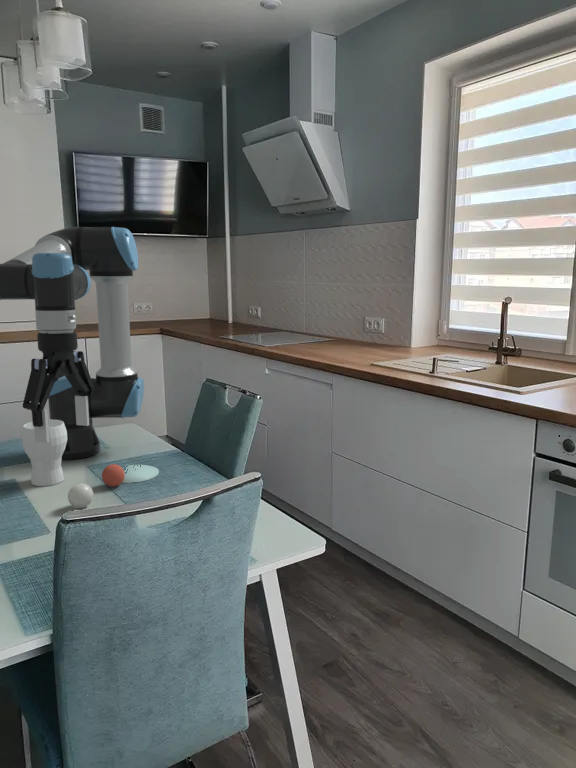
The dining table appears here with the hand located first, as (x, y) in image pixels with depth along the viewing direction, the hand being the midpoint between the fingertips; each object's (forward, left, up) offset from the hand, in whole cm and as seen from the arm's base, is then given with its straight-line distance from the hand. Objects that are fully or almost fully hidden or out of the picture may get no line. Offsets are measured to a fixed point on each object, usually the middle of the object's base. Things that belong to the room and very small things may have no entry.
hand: (63, 433), depth 122 cm
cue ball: (-6, +5, -17) cm, 19 cm away
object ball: (-13, +17, -17) cm, 27 cm away
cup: (-28, +6, -20) cm, 35 cm away
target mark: (-18, +25, -20) cm, 36 cm away
